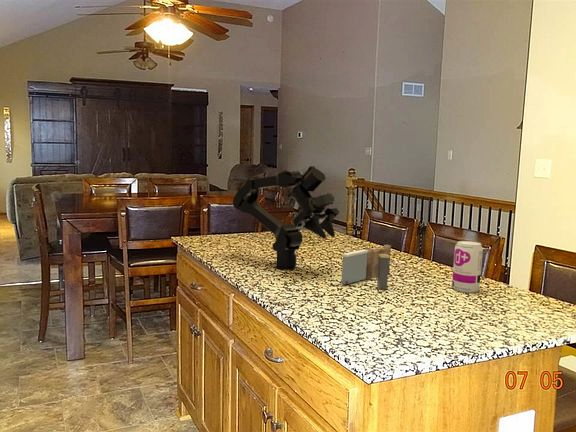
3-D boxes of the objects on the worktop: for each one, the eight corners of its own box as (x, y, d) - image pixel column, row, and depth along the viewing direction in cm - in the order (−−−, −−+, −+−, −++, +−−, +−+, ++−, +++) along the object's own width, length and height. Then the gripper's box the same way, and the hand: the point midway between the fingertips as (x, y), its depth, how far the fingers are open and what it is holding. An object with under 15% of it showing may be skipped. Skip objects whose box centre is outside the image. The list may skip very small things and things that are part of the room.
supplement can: (465, 294, 164) (469, 245, 162) (446, 287, 171) (449, 241, 169) (484, 291, 168) (489, 244, 166) (465, 285, 175) (468, 240, 173)
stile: (376, 287, 168) (378, 253, 167) (385, 287, 168) (387, 254, 167) (378, 289, 165) (380, 255, 164) (387, 289, 166) (389, 255, 164)
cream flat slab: (361, 278, 178) (363, 249, 177) (366, 279, 177) (368, 250, 175) (340, 284, 169) (342, 253, 168) (345, 285, 168) (346, 254, 167)
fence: (368, 280, 177) (370, 250, 175) (360, 278, 178) (362, 249, 177) (391, 273, 187) (392, 245, 186) (383, 272, 189) (385, 244, 188)
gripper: (301, 185, 171) (326, 224, 165) (336, 184, 185) (361, 219, 179) (281, 207, 177) (306, 245, 171) (317, 204, 191) (340, 239, 185)
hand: (329, 237), depth 177 cm, fingers open, 4 cm apart
